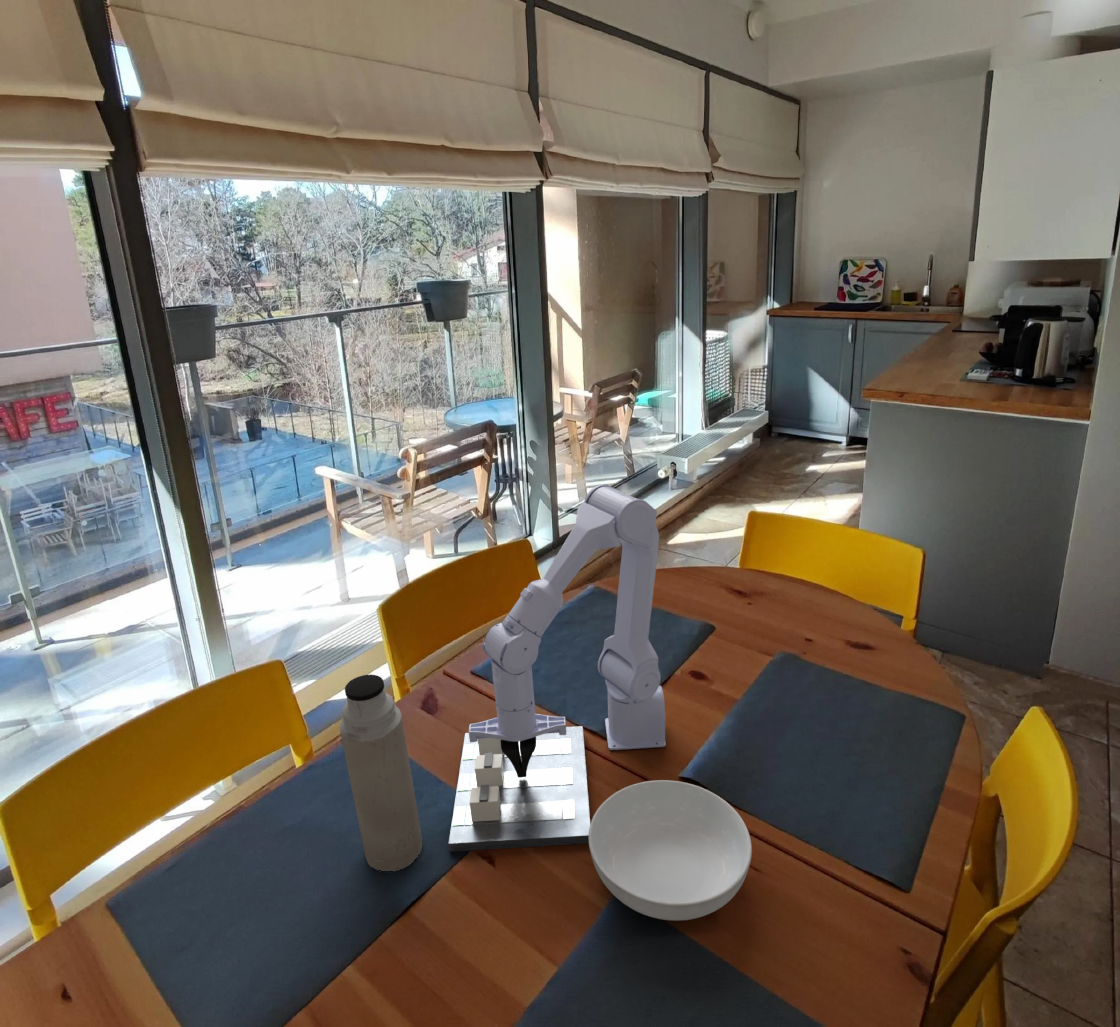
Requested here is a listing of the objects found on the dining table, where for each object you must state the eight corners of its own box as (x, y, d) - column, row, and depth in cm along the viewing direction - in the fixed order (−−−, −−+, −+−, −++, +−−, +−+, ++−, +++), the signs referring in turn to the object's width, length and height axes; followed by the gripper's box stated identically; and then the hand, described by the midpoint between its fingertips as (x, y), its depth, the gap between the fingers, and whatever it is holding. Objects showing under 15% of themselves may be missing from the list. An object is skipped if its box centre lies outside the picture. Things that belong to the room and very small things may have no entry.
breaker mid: (504, 771, 116) (501, 751, 115) (503, 785, 113) (500, 765, 112) (478, 773, 116) (476, 753, 115) (476, 787, 113) (474, 766, 112)
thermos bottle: (384, 823, 110) (355, 662, 100) (432, 834, 108) (407, 670, 97) (354, 865, 103) (319, 697, 93) (404, 878, 101) (374, 707, 90)
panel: (582, 733, 127) (582, 725, 126) (591, 843, 104) (591, 834, 104) (466, 740, 127) (465, 732, 126) (449, 851, 104) (448, 842, 104)
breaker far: (505, 742, 123) (503, 723, 121) (504, 754, 120) (502, 735, 119) (481, 744, 123) (478, 724, 121) (479, 756, 120) (477, 736, 119)
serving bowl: (715, 976, 85) (717, 933, 83) (561, 900, 96) (558, 860, 93) (770, 850, 102) (773, 811, 99) (633, 797, 112) (632, 761, 110)
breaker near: (500, 804, 110) (498, 784, 108) (499, 820, 107) (497, 798, 106) (473, 806, 110) (471, 785, 108) (471, 821, 107) (469, 800, 106)
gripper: (562, 680, 113) (567, 751, 118) (467, 687, 113) (476, 759, 118) (564, 708, 107) (570, 783, 112) (464, 716, 107) (473, 790, 112)
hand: (522, 773), depth 115 cm, fingers closed
